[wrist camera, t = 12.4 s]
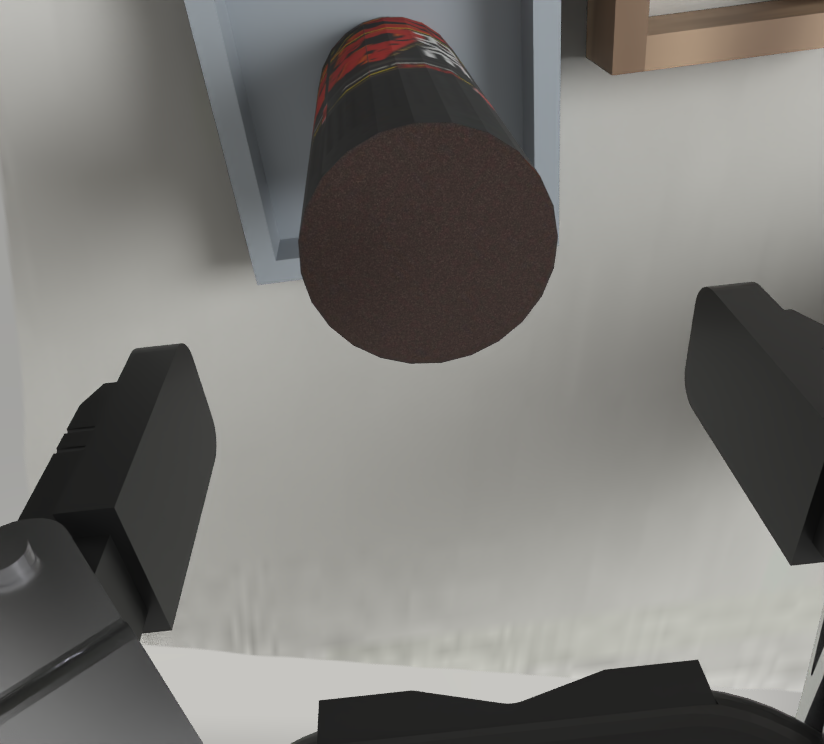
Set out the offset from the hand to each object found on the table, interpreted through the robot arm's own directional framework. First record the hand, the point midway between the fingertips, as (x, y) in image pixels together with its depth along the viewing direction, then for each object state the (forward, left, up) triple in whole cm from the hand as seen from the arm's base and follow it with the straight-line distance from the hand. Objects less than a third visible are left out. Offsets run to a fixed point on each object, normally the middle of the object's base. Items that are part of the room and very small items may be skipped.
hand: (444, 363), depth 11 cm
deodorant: (0, +1, -21) cm, 21 cm away
